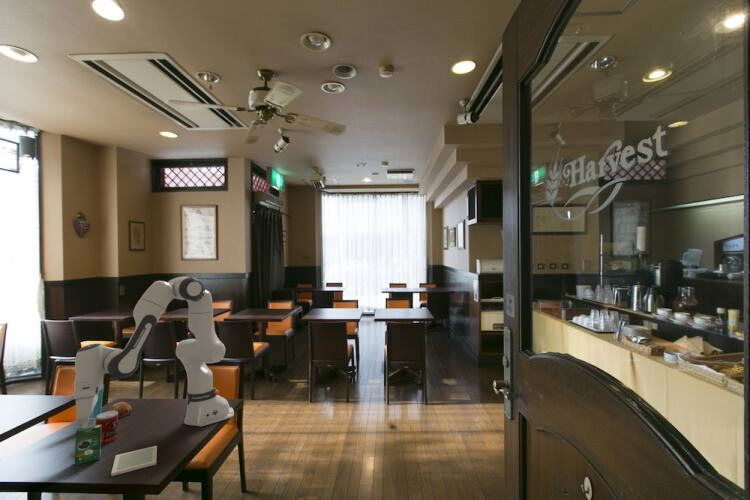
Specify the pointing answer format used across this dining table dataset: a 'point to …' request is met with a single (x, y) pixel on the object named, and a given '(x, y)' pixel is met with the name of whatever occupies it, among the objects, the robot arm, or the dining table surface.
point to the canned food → (108, 426)
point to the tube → (96, 409)
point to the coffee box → (88, 444)
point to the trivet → (134, 460)
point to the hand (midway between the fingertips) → (87, 422)
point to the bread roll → (121, 409)
